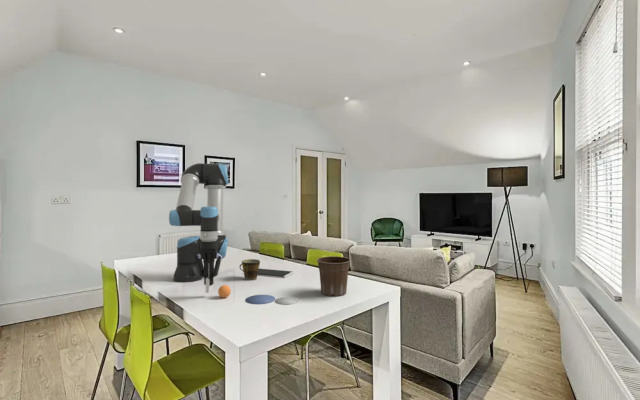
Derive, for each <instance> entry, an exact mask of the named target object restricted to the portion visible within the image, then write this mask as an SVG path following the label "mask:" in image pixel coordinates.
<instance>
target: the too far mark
mask: <svg viewBox="0 0 640 400" xmlns="http://www.w3.org/2000/svg"><path fill="white" fill-rule="evenodd" d="M274 302H275V303H276V304H278V305H285V306H286V305H287V306H288V305H293V304H297V303H298V302H299V299H298V298H296V297H292V296H283V297H279V298H275V300H274Z"/></svg>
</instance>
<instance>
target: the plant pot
mask: <svg viewBox="0 0 640 400" xmlns="http://www.w3.org/2000/svg"><path fill="white" fill-rule="evenodd" d="M316 261H317V266H318V272H319V280H320V282H319V283H320V292H321V294H322V295H324V296H327V297H331V296H334V297H341V295H342V296H345V295H346V294H347V290H348V278H349V269H350V264H351V263H350V262H351V258H349V257H345V256H335V255H334V256H332V255H331V256H322V257H321V256H320V257H318V258H316Z"/></svg>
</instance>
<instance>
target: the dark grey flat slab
mask: <svg viewBox="0 0 640 400" xmlns="http://www.w3.org/2000/svg"><path fill="white" fill-rule="evenodd" d="M294 274H295V272H294V271H290V270H278V269H269V268H259V269H258V274H257V277H258V276H259V277H267V278H268V277H269V278H280V279H287V278H289V277H291V276H292V275H294Z"/></svg>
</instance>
